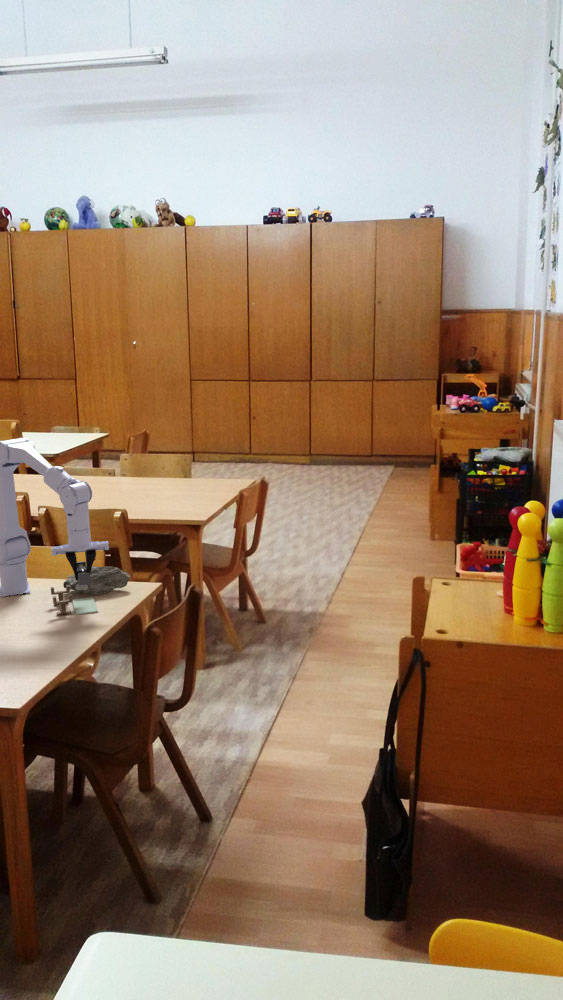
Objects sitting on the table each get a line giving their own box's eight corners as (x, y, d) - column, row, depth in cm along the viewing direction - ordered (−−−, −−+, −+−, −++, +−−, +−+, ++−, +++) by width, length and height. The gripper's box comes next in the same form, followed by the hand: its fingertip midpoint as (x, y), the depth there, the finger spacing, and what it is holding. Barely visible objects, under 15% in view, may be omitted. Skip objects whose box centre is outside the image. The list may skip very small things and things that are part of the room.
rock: (66, 593, 218) (61, 560, 222) (65, 607, 226) (61, 575, 230) (133, 585, 224) (128, 553, 228) (130, 599, 232) (125, 568, 236)
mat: (72, 601, 219) (71, 599, 219) (92, 598, 221) (92, 597, 221) (76, 615, 208) (76, 613, 208) (98, 612, 210) (98, 610, 209)
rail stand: (52, 605, 216) (50, 587, 215) (70, 602, 218) (69, 585, 217) (54, 616, 207) (53, 597, 206) (73, 613, 209) (72, 595, 208)
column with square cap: (74, 573, 218) (73, 562, 217) (86, 571, 219) (85, 561, 218) (79, 585, 207) (78, 574, 206) (90, 584, 207) (90, 573, 207)
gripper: (50, 534, 204) (55, 586, 207) (108, 529, 208) (112, 579, 211) (49, 528, 210) (53, 578, 213) (105, 523, 215) (108, 572, 218)
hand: (82, 578), depth 213 cm, fingers closed on column with square cap, 2 cm apart
